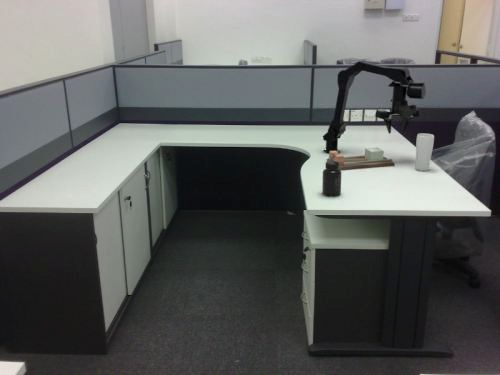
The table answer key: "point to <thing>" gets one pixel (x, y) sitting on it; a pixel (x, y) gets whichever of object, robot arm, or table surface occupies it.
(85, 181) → the table surface
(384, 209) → the table surface
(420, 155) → the drinking glass
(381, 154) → the block
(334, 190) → the supplement bottle
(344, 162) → the track
